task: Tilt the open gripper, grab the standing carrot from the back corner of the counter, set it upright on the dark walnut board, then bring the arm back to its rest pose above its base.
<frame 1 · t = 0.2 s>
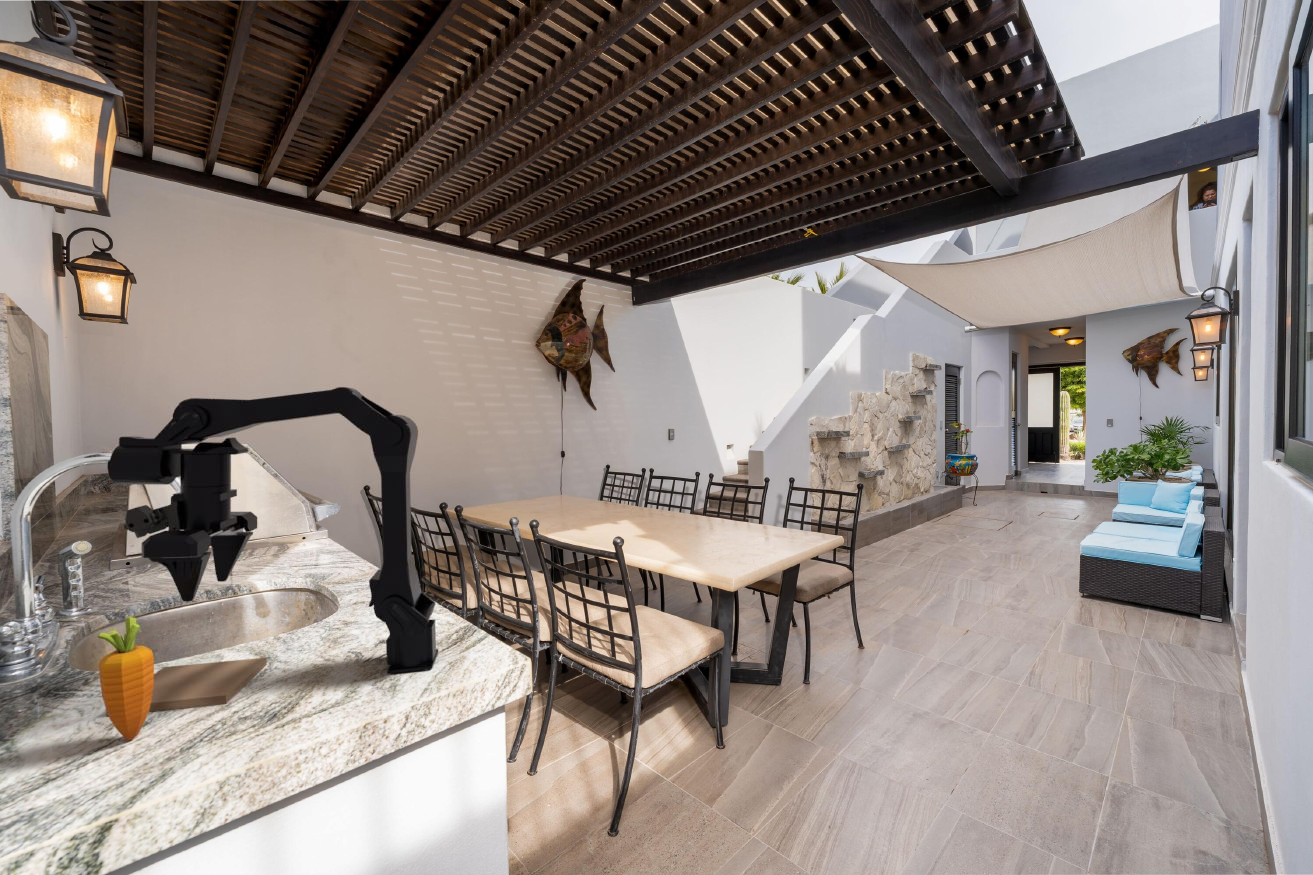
hand: (205, 590, 81), 14 cm above the counter, tool pointing down, fingers open, 9 cm apart
walnut board: (193, 688, 81), on the counter
carrot: (131, 741, 69), on the counter
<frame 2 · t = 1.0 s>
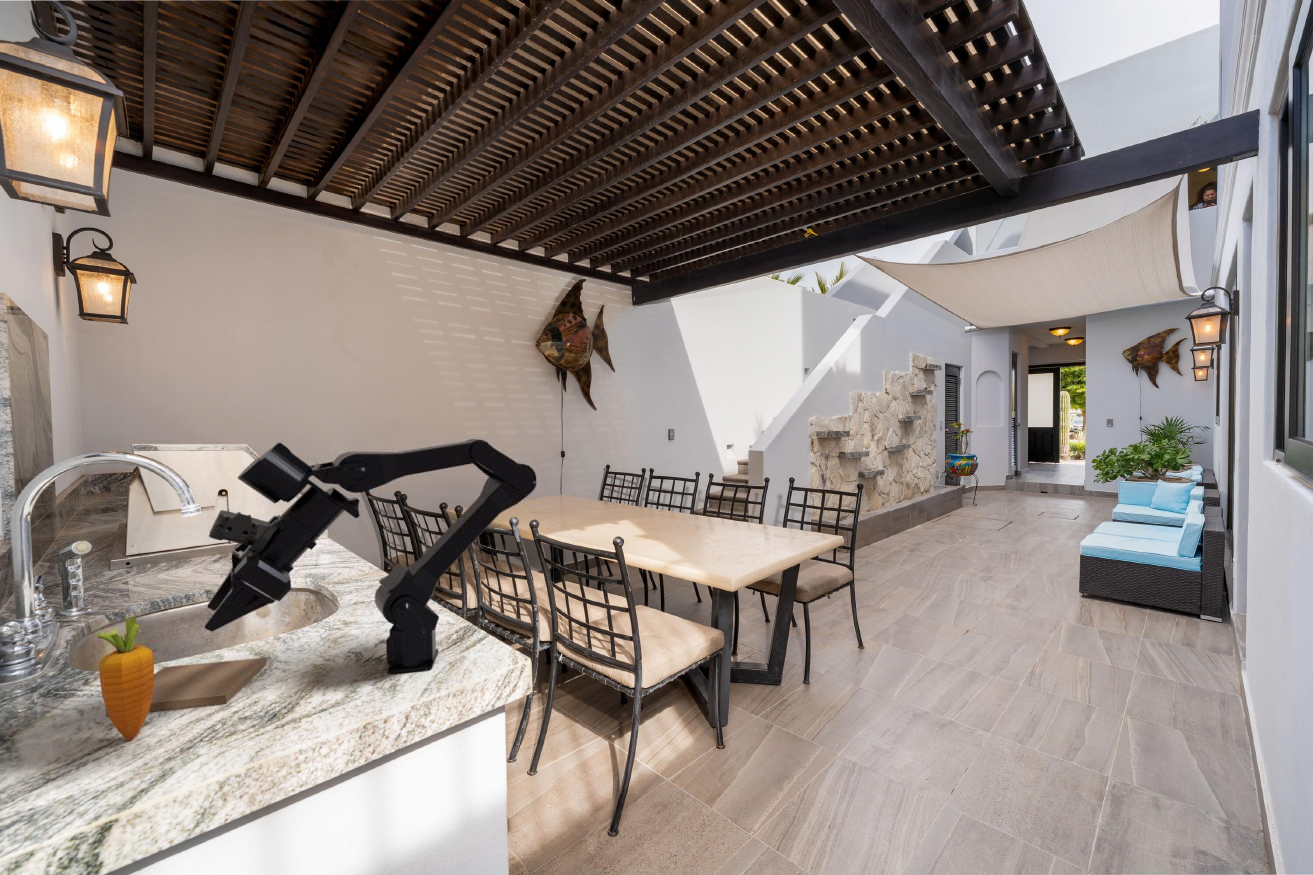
hand: (209, 618, 73), 13 cm above the counter, tool tilted 45°, fingers open, 9 cm apart
nothing on the counter moved.
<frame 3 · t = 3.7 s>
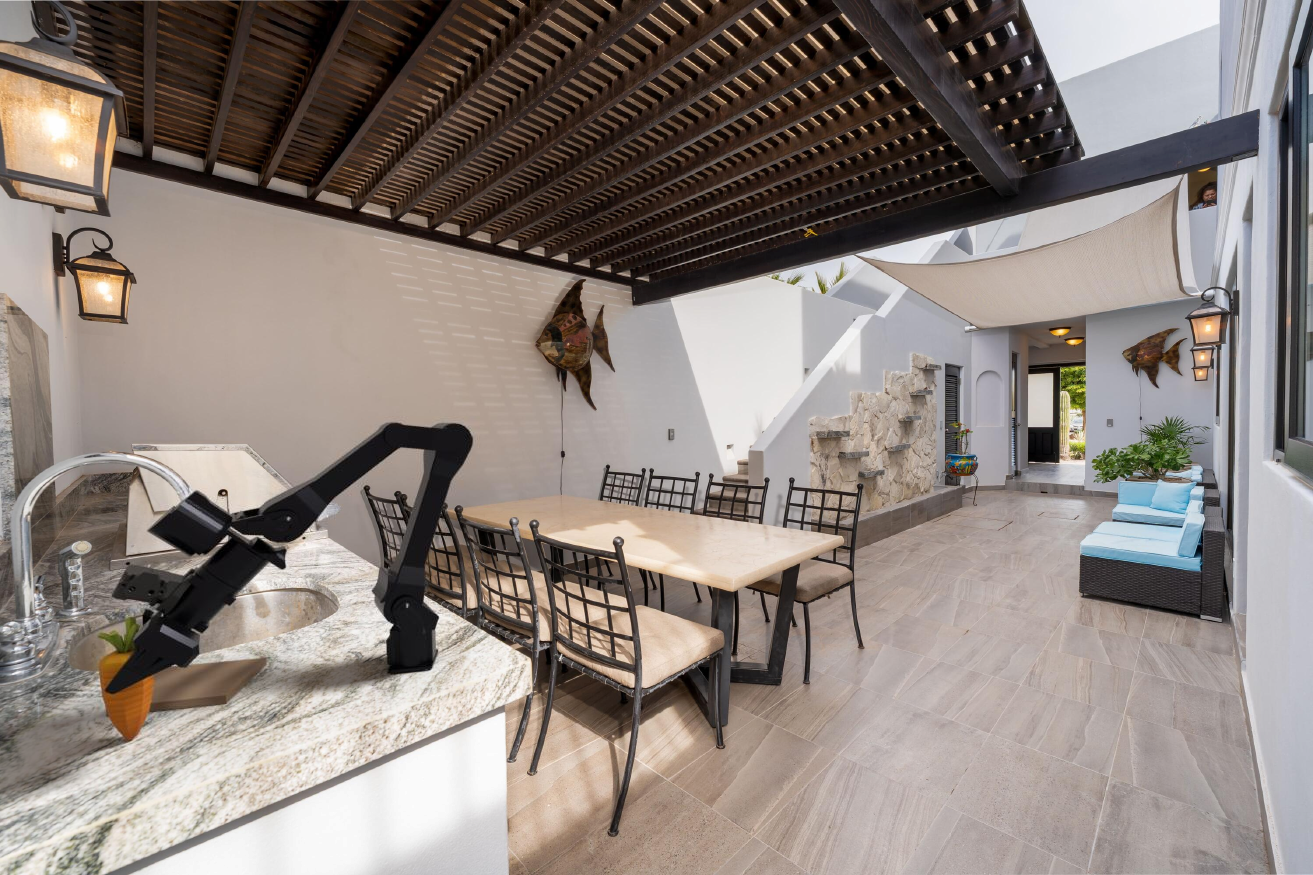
hand: (112, 683, 67), 8 cm above the counter, tool tilted 45°, fingers closed on carrot, 5 cm apart
carrot: (131, 741, 69), on the counter, touching gripper
when the fingers open (10 cm above the counter, at t = 7.7 s): carrot stays where it is, resting on walnut board.
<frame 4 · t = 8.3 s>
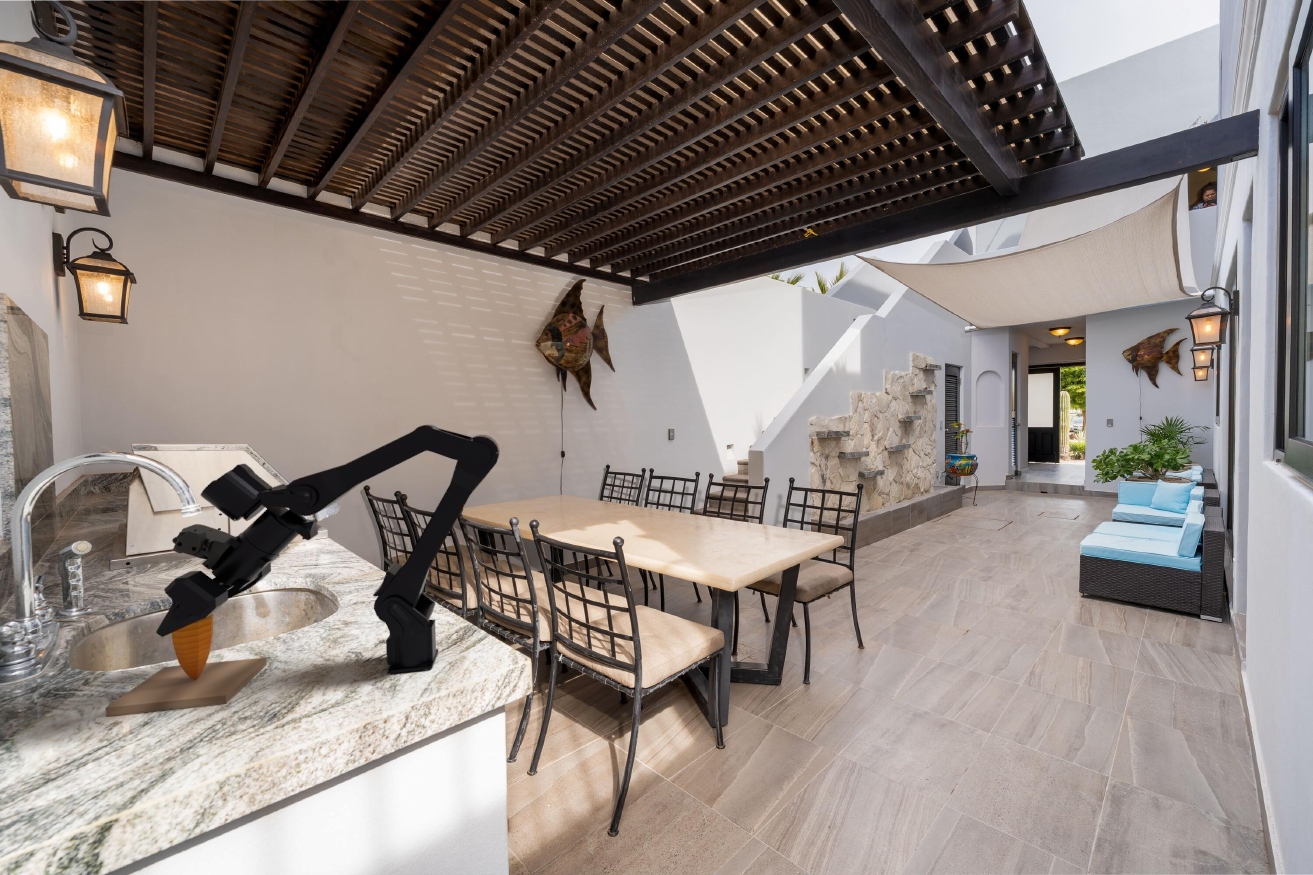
hand: (179, 622, 80), 10 cm above the counter, tool tilted 45°, fingers open, 9 cm apart
carrot: (195, 680, 81), point 1 cm above the counter, touching walnut board
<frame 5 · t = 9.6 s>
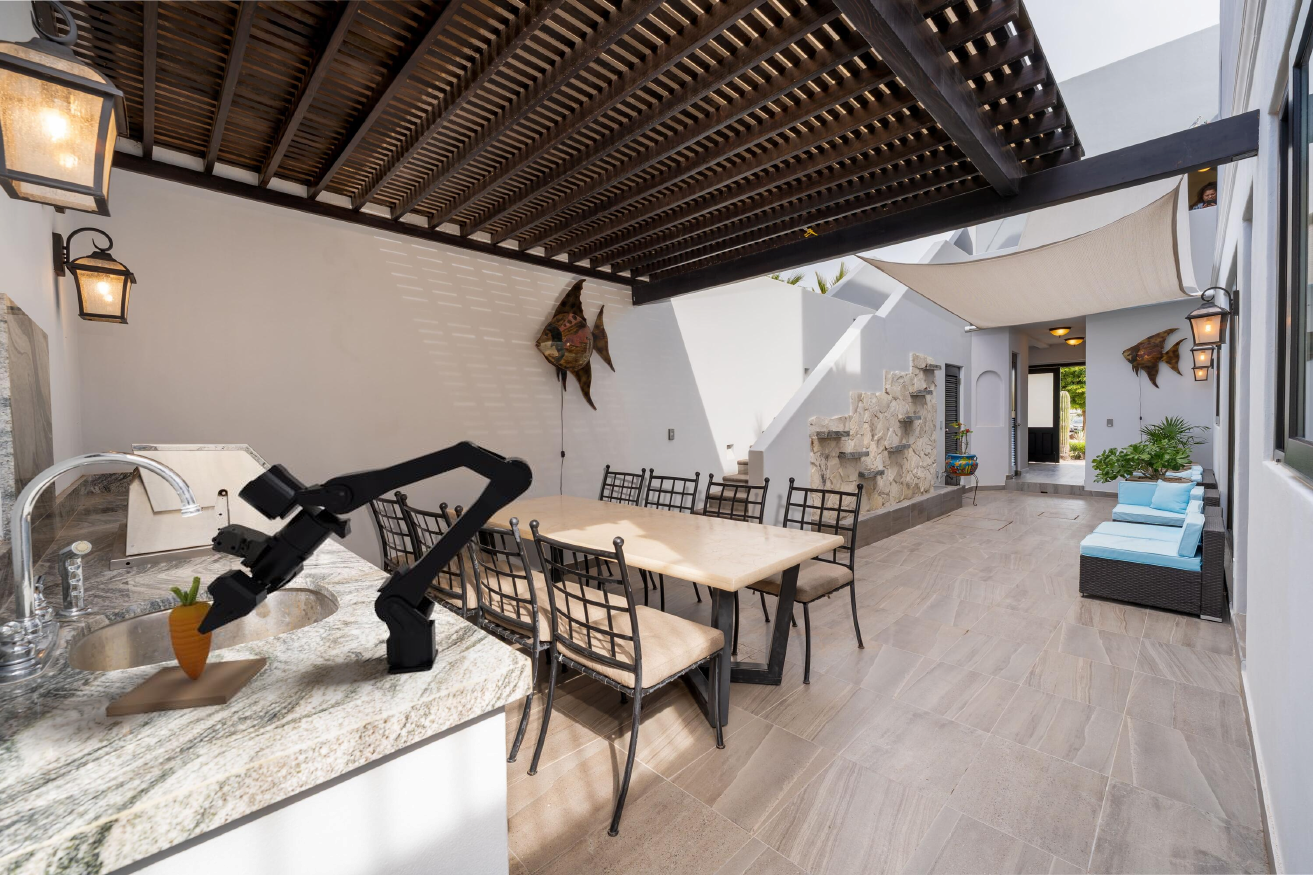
hand: (217, 620, 82), 10 cm above the counter, tool tilted 45°, fingers open, 9 cm apart
nothing on the counter moved.
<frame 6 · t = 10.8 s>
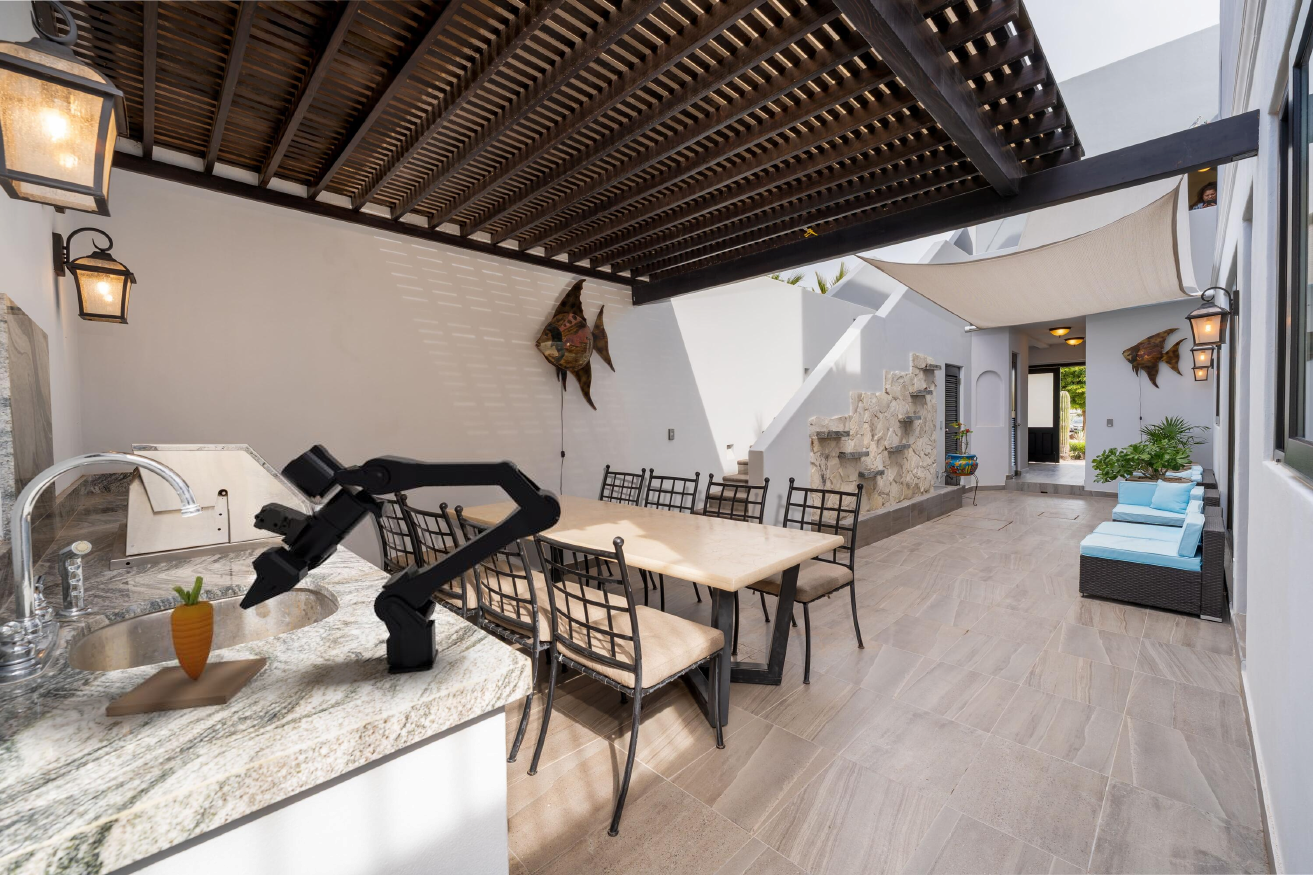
hand: (256, 596, 83), 13 cm above the counter, tool tilted 45°, fingers open, 9 cm apart
nothing on the counter moved.
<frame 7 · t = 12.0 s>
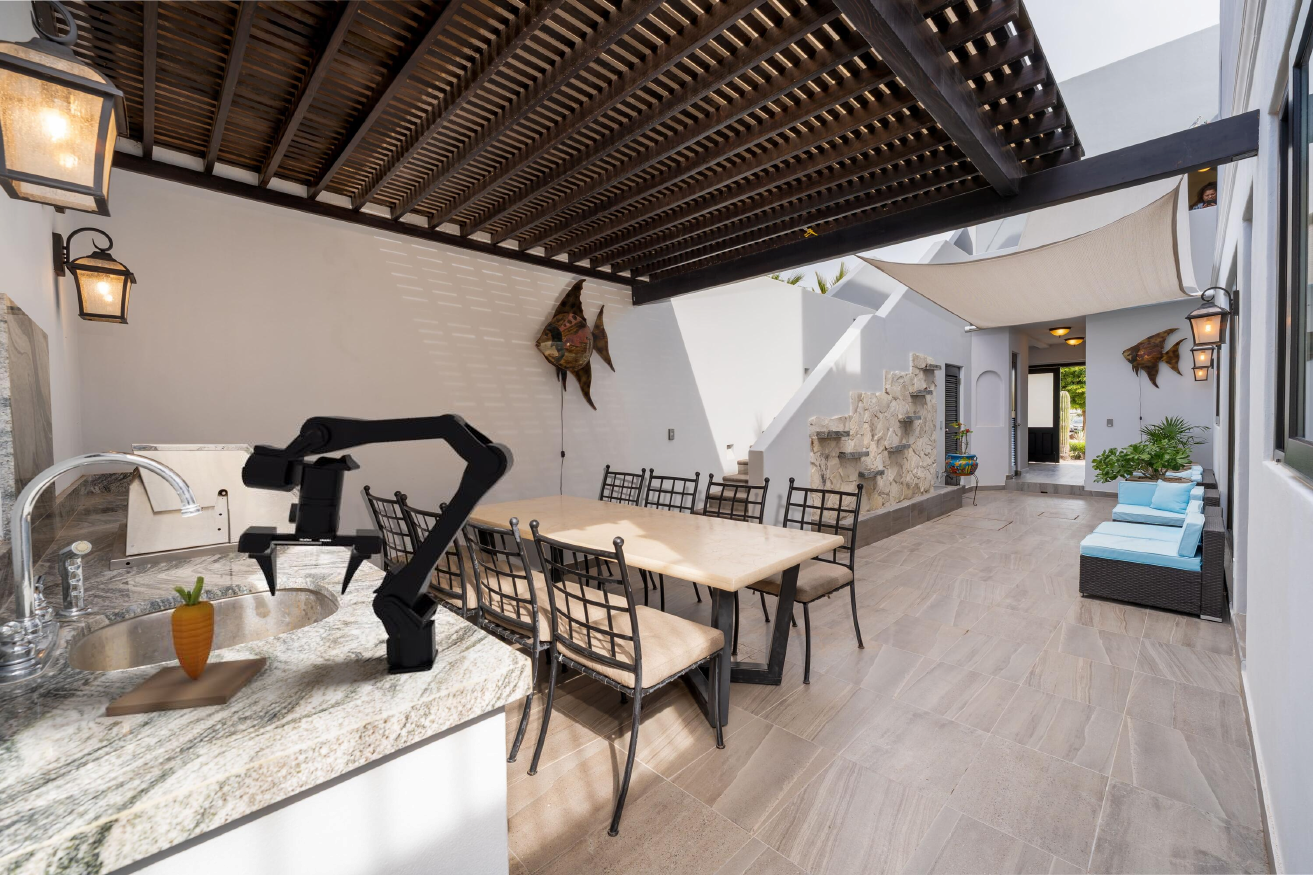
hand: (308, 594, 87), 12 cm above the counter, tool pointing down, fingers open, 9 cm apart
nothing on the counter moved.
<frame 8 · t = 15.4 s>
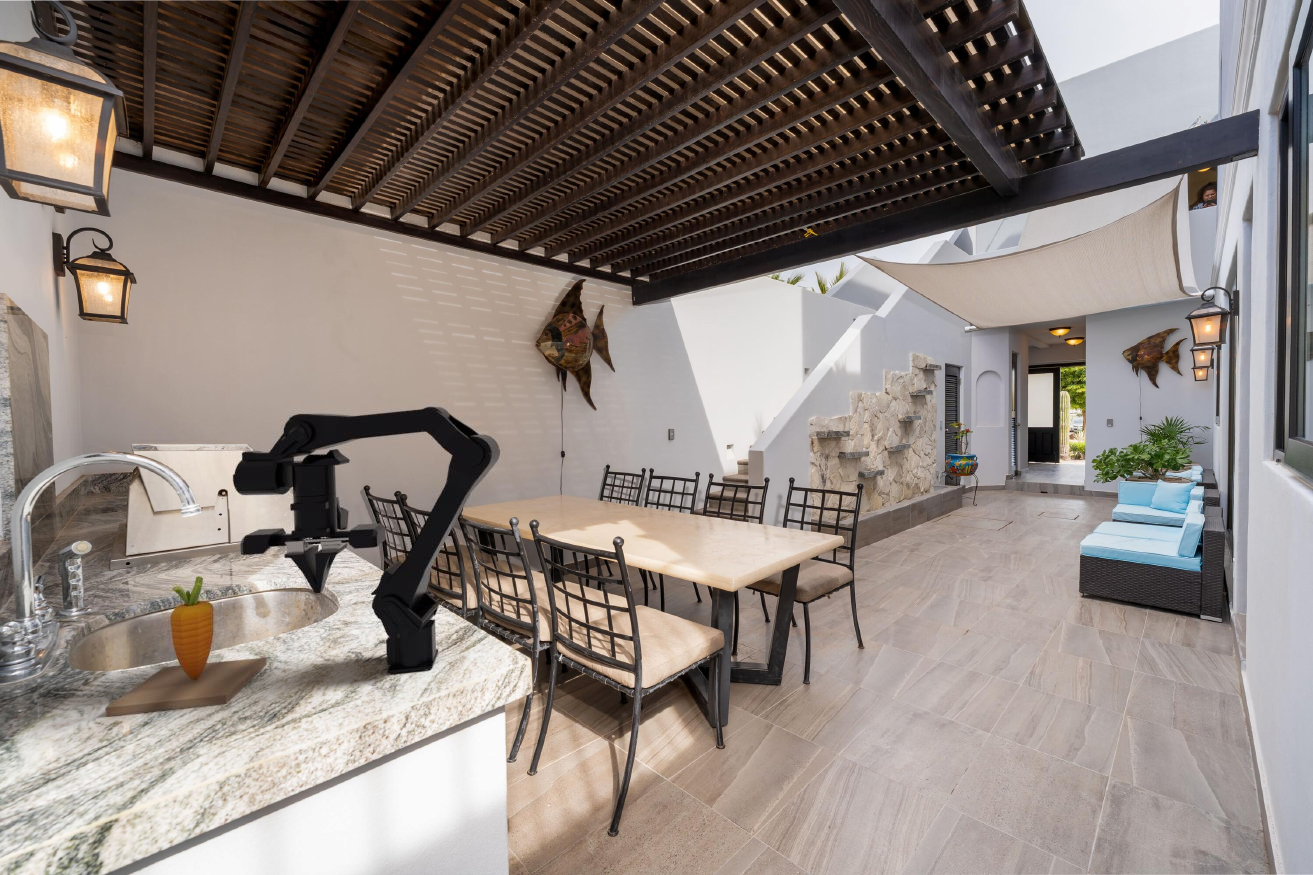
hand: (318, 592, 87), 12 cm above the counter, tool pointing down, fingers closed
nothing on the counter moved.
at the end: carrot inside the target area on the walnut board (0.2 cm from its centre), point 1.0 cm above the walnut board's base; carrot tilted 1°; the gripper is holding nothing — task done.
